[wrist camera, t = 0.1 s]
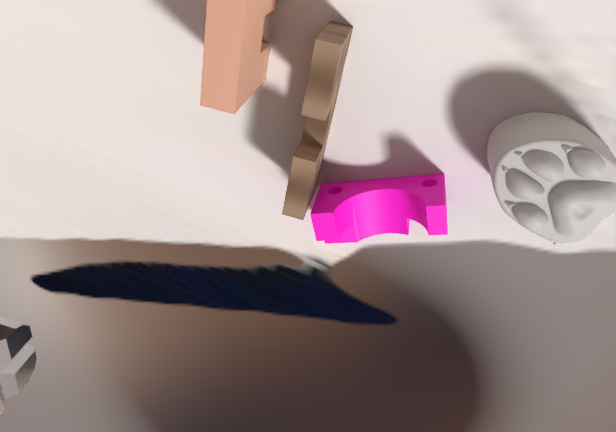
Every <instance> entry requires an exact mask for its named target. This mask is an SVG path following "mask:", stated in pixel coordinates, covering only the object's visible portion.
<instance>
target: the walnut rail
mask: <svg viewBox="0 0 616 432" xmlns="http://www.w3.org/2000/svg"><path fill="white" fill-rule="evenodd" d="M352 29H353V26H349V25H344V24H340V23H336V22H332V21H330V22H329V23H328V24H327V25H326V27H325V28H324V29H323V30H322V31H321V33H320V34H319V35H318V36H317V38H316V39H315V43H314V49H313V54H312V59H311V65H310V70H309V75H308V80H307V86H306V91H305V96H304V101H303V107H302V112H301V115H304V116H306V121H305V127H304V132H303V137H302V141H301V143H300V144H299V146H298V148H297V150H296V152H295V154H294V156H293V159H292V165H291V170H290V175H289V181H288V186H287V191H286V196H285V202H284V207H283V212H282V214H283V215H287V216H291V217H294V218H298V219H301V220H303V219H304V216H305V214H306V211H307V209H308V206H309V204H310V201H311V199H312V196H313V194H314V191H315V189H316V186H317V182H318V178H319V173H320V169H321V164H322V160H323V156H324V151H325V147H326V143H327V138H328V134H329V129H330V125H331V121H332V116H333V112H334V108H335V103H336V99H337V95H338V90H339V86H340V81H341V77H342V73H343V68H344V64H345V60H346V55H347V51H348V46H349V42H350V38H351V33H352Z"/></svg>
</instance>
